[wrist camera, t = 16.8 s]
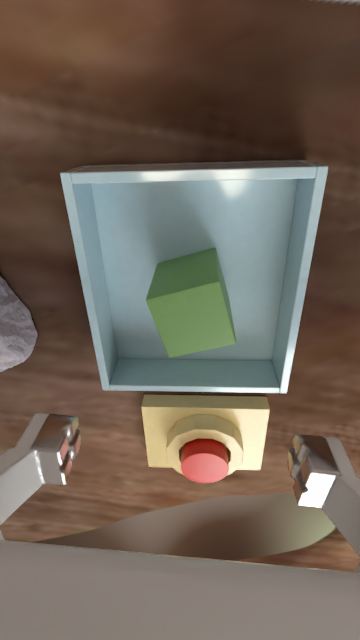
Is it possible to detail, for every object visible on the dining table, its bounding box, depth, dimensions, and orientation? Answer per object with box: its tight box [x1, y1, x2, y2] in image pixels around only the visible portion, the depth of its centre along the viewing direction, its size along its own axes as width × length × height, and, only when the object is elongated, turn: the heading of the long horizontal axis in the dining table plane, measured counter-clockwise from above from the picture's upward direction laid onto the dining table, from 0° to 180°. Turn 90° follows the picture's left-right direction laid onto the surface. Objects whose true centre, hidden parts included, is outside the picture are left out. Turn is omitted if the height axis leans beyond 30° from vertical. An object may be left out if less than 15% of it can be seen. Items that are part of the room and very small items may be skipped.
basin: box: [60, 160, 328, 393], centre depth 24 cm, size 15×16×4 cm
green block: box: [146, 248, 236, 358], centre depth 22 cm, size 4×4×6 cm
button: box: [181, 438, 229, 483], centre depth 31 cm, size 4×4×2 cm
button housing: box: [141, 394, 270, 475], centre depth 33 cm, size 12×9×4 cm
